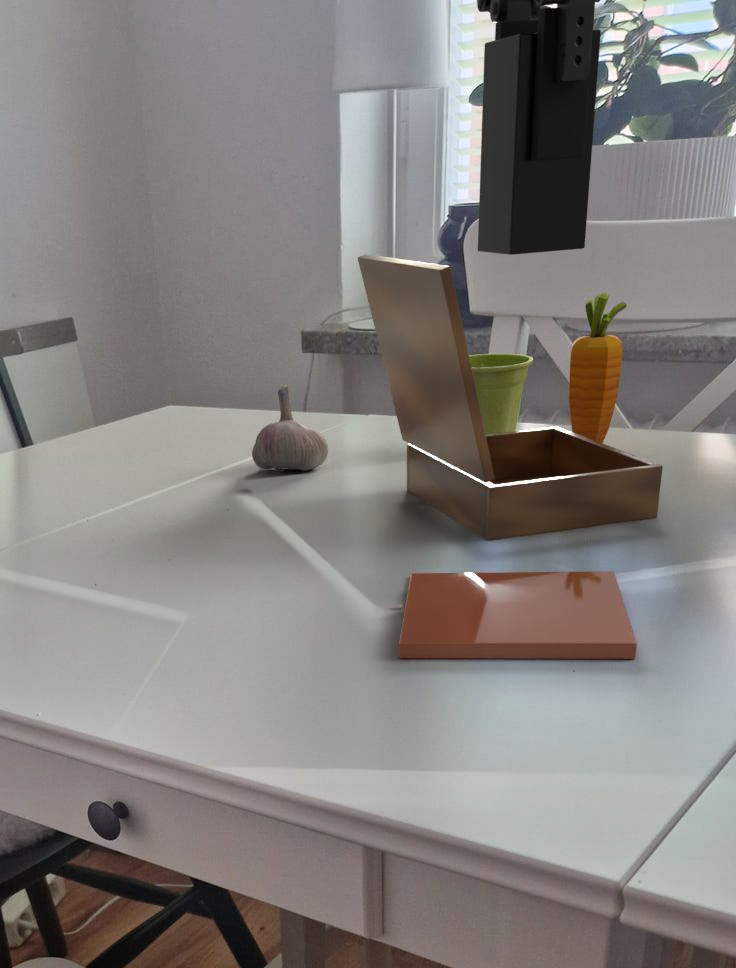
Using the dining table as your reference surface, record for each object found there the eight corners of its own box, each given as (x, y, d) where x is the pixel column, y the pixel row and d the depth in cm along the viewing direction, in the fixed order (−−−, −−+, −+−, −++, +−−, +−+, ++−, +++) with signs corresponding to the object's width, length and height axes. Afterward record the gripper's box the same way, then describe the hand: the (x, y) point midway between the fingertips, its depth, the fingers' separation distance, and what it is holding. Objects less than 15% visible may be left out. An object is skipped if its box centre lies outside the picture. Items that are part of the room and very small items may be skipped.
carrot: (572, 456, 115) (585, 288, 107) (621, 460, 112) (638, 288, 105) (552, 467, 111) (564, 294, 104) (602, 471, 109) (618, 294, 101)
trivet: (613, 585, 81) (614, 570, 80) (635, 659, 69) (637, 643, 68) (410, 586, 83) (410, 572, 83) (398, 658, 71) (398, 643, 71)
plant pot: (417, 455, 119) (418, 365, 115) (466, 438, 125) (469, 351, 121) (497, 464, 114) (502, 369, 109) (545, 445, 120) (550, 354, 115)
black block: (548, 245, 68) (561, 39, 63) (585, 248, 65) (601, 29, 59) (477, 251, 68) (484, 43, 62) (509, 254, 64) (520, 33, 59)
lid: (366, 253, 94) (357, 257, 94) (450, 265, 79) (440, 270, 79) (410, 436, 102) (402, 440, 102) (495, 479, 87) (485, 483, 87)
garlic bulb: (239, 470, 119) (234, 387, 115) (296, 457, 122) (292, 376, 118) (284, 481, 113) (280, 394, 109) (342, 467, 117) (340, 382, 113)
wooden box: (553, 479, 107) (556, 426, 105) (656, 526, 92) (663, 465, 90) (406, 497, 105) (406, 443, 102) (487, 549, 90) (490, 487, 87)
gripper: (419, -368, 59) (414, 167, 71) (584, -556, 44) (544, 160, 56) (556, -366, 60) (529, 159, 72) (761, -548, 45) (685, 150, 57)
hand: (535, 158), depth 64 cm, fingers closed on black block, 4 cm apart
